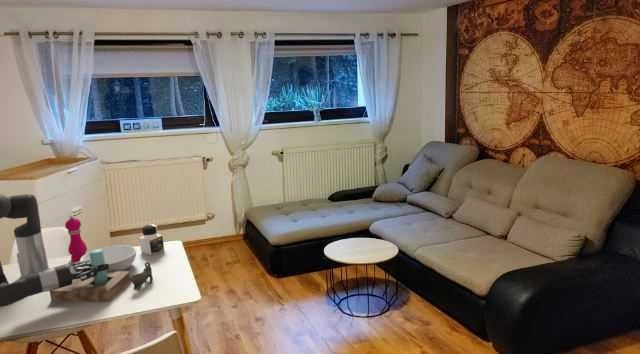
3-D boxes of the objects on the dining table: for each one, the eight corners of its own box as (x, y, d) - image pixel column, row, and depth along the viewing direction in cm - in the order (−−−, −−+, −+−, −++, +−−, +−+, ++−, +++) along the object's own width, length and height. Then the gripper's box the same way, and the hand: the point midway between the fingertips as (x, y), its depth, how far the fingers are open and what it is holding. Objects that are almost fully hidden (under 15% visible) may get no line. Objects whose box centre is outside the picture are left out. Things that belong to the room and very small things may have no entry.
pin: (92, 289, 174) (86, 254, 170) (99, 284, 178) (93, 249, 175) (104, 290, 173) (98, 254, 170) (111, 284, 177) (105, 249, 174)
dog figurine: (144, 278, 185) (141, 260, 183) (157, 279, 183) (155, 261, 182) (125, 292, 173) (122, 274, 172) (139, 293, 172) (136, 274, 170)
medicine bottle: (151, 255, 207) (147, 229, 204) (141, 252, 210) (137, 227, 207) (164, 249, 212) (161, 224, 210) (154, 247, 216) (150, 222, 213)
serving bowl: (125, 280, 184) (123, 264, 182) (72, 282, 184) (69, 266, 183) (145, 258, 204) (143, 243, 202) (98, 260, 205) (95, 245, 203)
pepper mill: (70, 263, 203) (61, 219, 198) (70, 257, 209) (61, 214, 204) (88, 259, 206) (81, 216, 201) (88, 254, 212) (80, 211, 207)
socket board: (51, 301, 170) (49, 290, 169) (78, 280, 185) (76, 271, 184) (109, 301, 167) (107, 291, 166) (131, 280, 183) (129, 271, 182)
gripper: (57, 274, 159) (110, 260, 169) (49, 262, 170) (99, 249, 180) (61, 295, 160) (113, 279, 171) (53, 281, 171) (102, 267, 182)
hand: (106, 263), depth 175 cm, fingers closed on pin, 4 cm apart
